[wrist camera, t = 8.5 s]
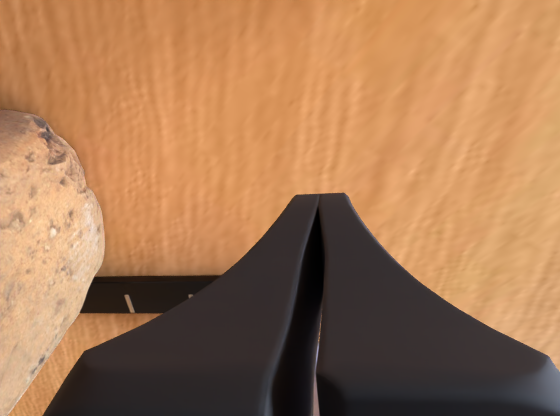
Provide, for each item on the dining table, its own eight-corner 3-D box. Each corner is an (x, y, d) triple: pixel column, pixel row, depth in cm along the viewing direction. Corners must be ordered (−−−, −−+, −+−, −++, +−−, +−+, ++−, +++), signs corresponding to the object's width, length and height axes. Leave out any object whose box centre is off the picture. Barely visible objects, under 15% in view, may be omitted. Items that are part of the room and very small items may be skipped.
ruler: (295, 307, 25) (294, 314, 24) (-5, 306, 28) (-12, 314, 27) (291, 273, 24) (290, 281, 23) (-22, 277, 27) (-30, 284, 26)
